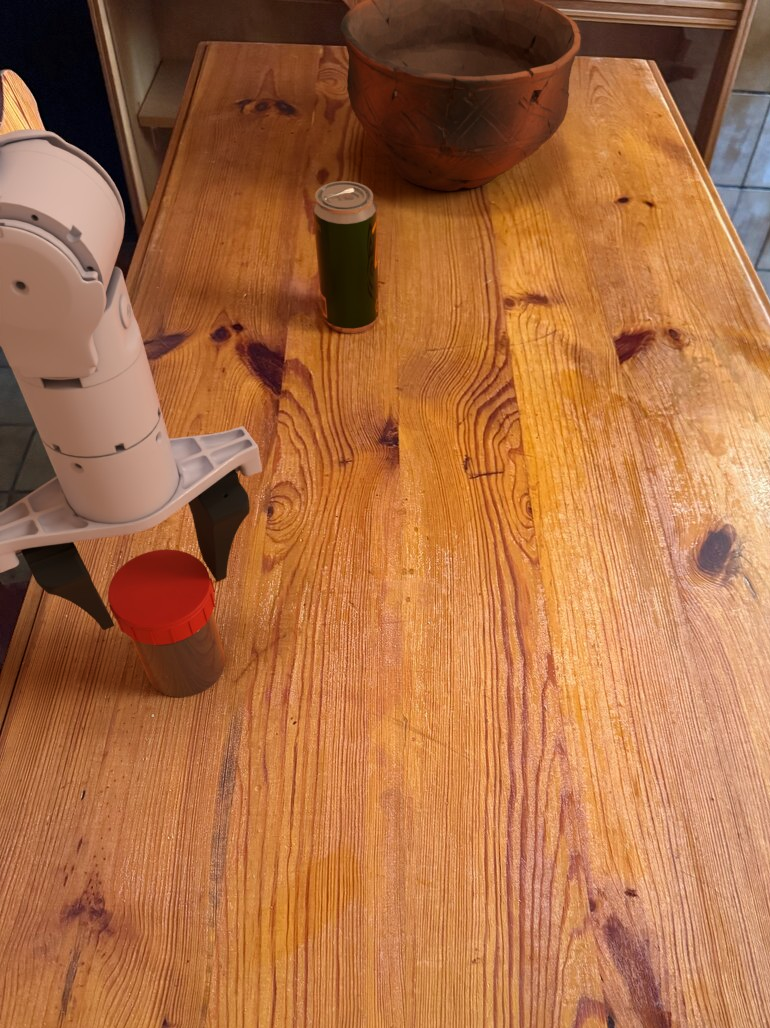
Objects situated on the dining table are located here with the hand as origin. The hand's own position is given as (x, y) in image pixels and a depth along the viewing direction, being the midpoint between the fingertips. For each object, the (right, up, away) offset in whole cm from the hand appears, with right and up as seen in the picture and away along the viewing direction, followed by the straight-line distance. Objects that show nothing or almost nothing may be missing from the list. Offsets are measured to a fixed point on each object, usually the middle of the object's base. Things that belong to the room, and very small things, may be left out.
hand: (160, 592), depth 53 cm
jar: (0, -5, +6) cm, 8 cm away
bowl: (+18, +49, +50) cm, 72 cm away
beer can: (+8, +26, +31) cm, 41 cm away
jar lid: (0, 0, 0) cm, 0 cm away
